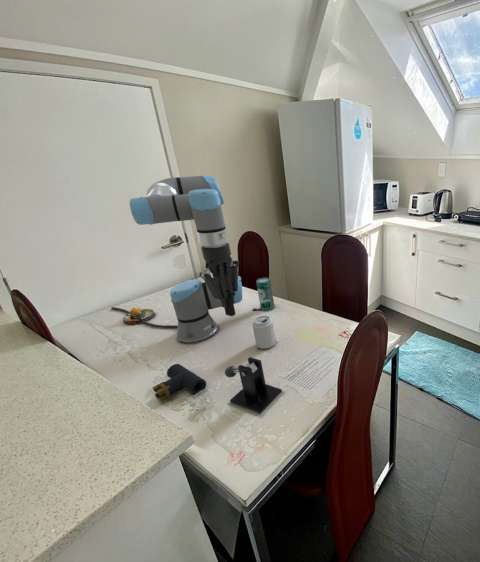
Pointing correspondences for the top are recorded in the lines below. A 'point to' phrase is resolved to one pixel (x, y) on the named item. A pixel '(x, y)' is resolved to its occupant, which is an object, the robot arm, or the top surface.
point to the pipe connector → (179, 383)
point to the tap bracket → (254, 389)
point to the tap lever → (232, 370)
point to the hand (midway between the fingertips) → (230, 314)
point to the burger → (138, 315)
